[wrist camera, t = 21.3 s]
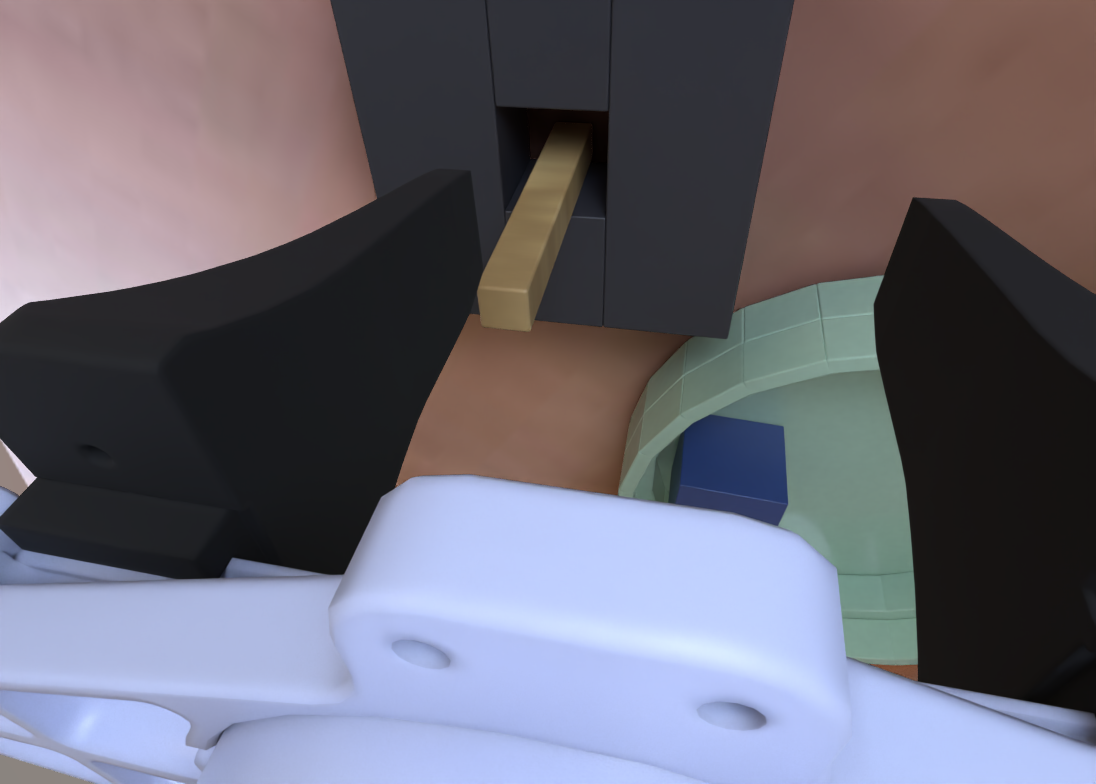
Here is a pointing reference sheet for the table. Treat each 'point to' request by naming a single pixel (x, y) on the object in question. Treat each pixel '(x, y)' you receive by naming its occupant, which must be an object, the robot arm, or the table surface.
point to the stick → (535, 231)
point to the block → (731, 468)
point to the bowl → (804, 443)
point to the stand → (633, 134)
